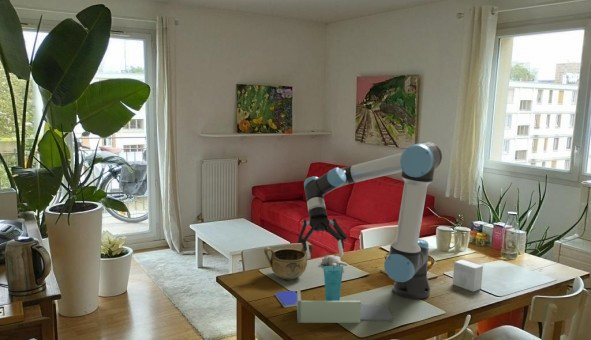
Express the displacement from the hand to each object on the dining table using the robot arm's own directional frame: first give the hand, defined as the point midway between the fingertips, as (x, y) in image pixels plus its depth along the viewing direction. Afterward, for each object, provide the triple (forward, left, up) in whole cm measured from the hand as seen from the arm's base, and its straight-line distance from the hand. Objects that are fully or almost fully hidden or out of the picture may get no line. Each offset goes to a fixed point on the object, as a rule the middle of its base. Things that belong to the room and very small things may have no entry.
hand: (325, 257), depth 186 cm
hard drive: (+14, -3, -20) cm, 24 cm away
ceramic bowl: (+14, -27, -19) cm, 36 cm away
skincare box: (-64, -17, -19) cm, 69 cm away
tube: (-2, +10, -19) cm, 22 cm away
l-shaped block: (0, +11, -19) cm, 22 cm away
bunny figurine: (-8, -40, -19) cm, 46 cm away
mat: (-18, +9, -19) cm, 28 cm away
